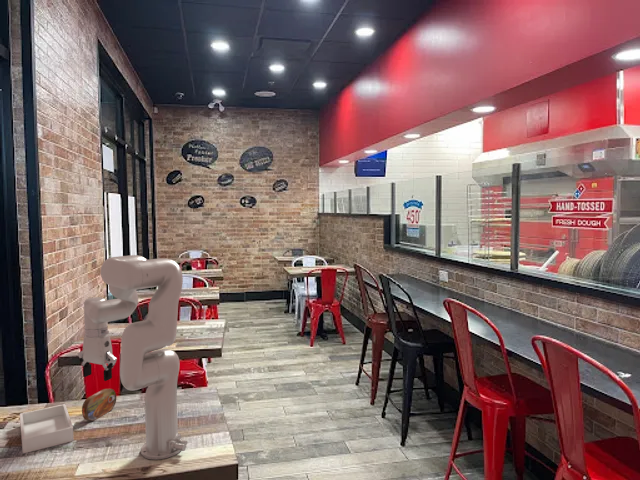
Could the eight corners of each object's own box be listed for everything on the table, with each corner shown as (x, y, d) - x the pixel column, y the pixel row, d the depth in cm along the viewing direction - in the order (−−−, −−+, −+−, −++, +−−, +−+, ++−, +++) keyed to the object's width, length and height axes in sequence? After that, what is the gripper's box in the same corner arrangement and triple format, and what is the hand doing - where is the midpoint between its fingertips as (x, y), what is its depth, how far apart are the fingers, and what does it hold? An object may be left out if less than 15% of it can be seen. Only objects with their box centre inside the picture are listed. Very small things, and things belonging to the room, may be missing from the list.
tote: (20, 426, 162) (19, 413, 162) (65, 415, 170) (65, 403, 170) (22, 453, 144) (22, 439, 144) (73, 440, 152) (73, 427, 152)
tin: (87, 424, 163) (86, 401, 163) (80, 423, 164) (79, 400, 164) (117, 407, 178) (116, 385, 177) (110, 406, 179) (109, 384, 178)
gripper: (122, 331, 169) (123, 377, 171) (86, 326, 175) (88, 370, 177) (106, 337, 162) (108, 385, 164) (69, 331, 168) (71, 377, 170)
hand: (97, 377), depth 170 cm, fingers open, 9 cm apart
